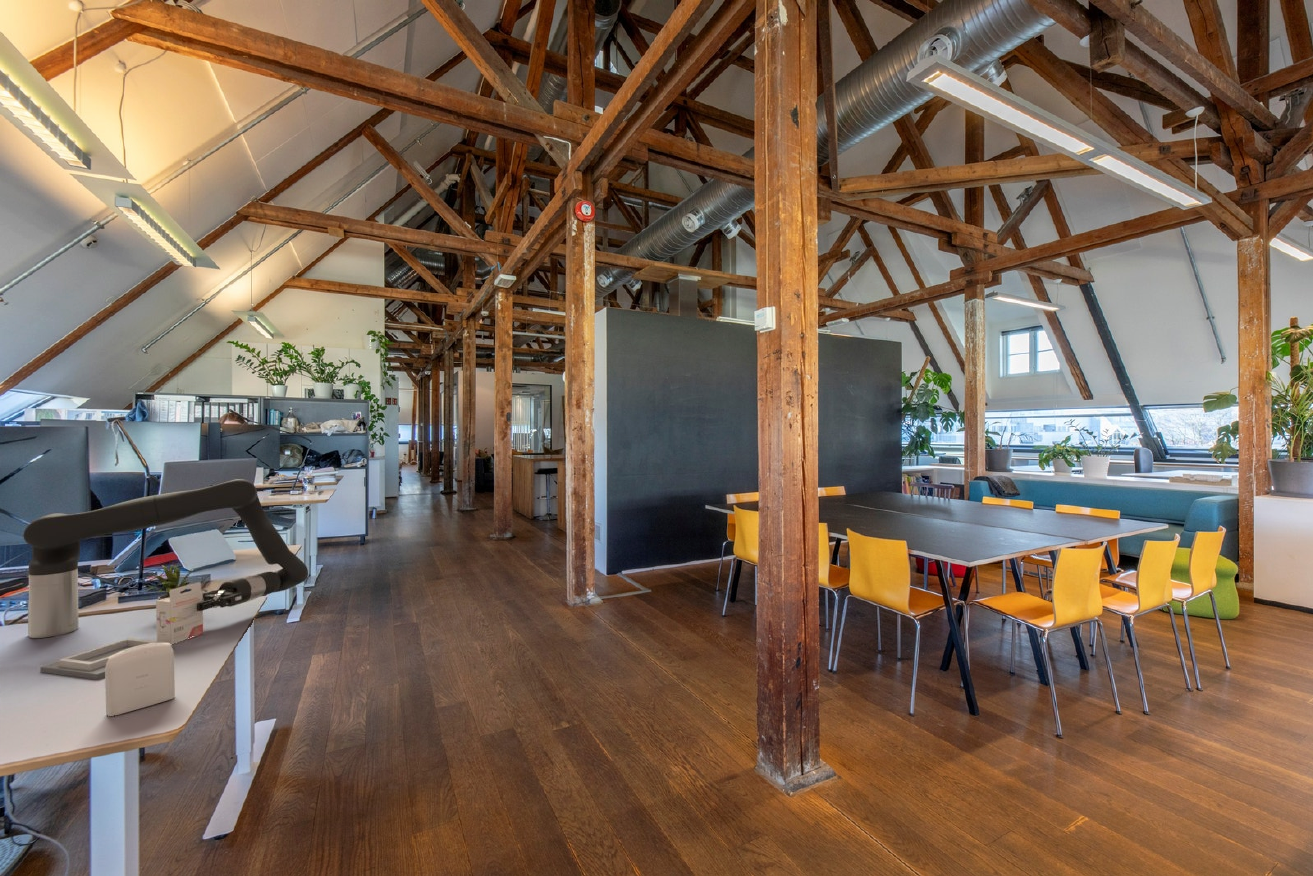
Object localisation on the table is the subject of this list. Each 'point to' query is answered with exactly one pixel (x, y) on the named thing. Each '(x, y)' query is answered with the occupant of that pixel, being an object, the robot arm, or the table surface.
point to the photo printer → (139, 677)
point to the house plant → (170, 581)
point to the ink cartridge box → (179, 615)
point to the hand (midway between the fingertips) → (185, 606)
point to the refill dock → (91, 660)
